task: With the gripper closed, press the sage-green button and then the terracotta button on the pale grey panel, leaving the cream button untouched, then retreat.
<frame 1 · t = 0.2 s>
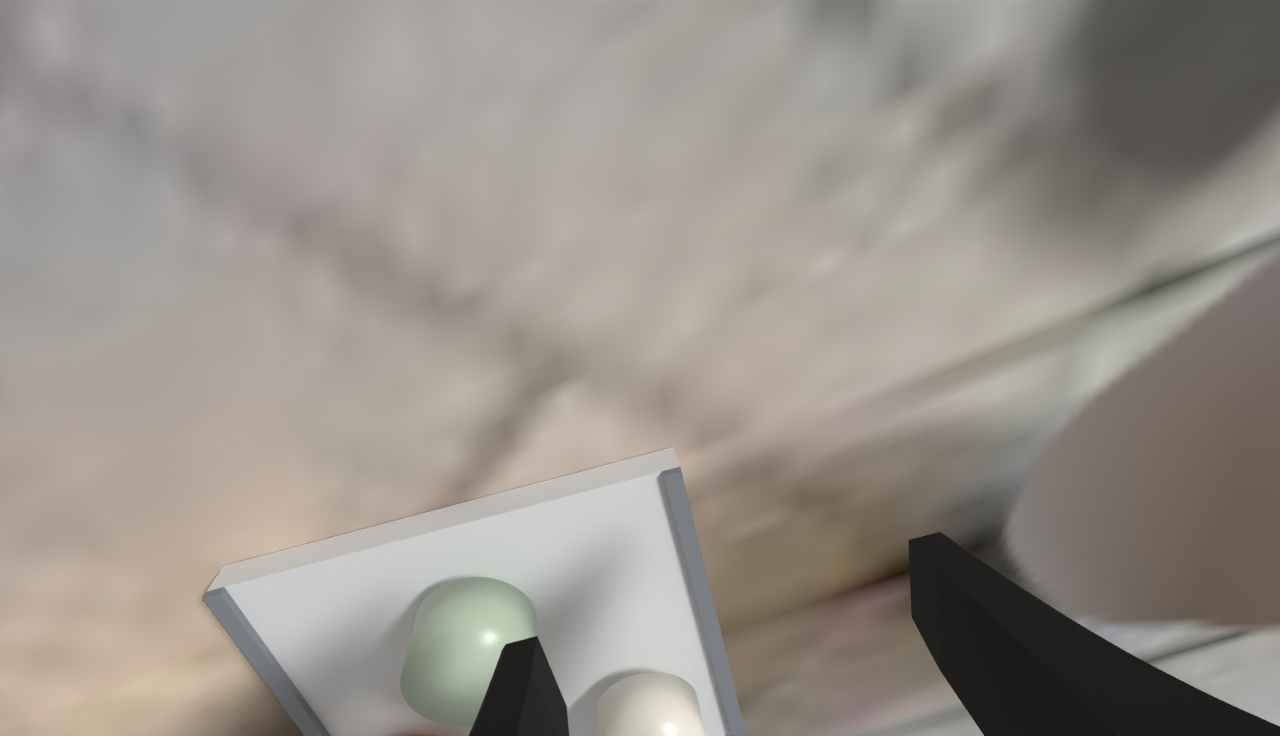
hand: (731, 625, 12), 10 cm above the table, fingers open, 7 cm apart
panel: (512, 643, 25), on the table
sage button: (472, 651, 20), point 3 cm above the table, slide at 0.0 cm
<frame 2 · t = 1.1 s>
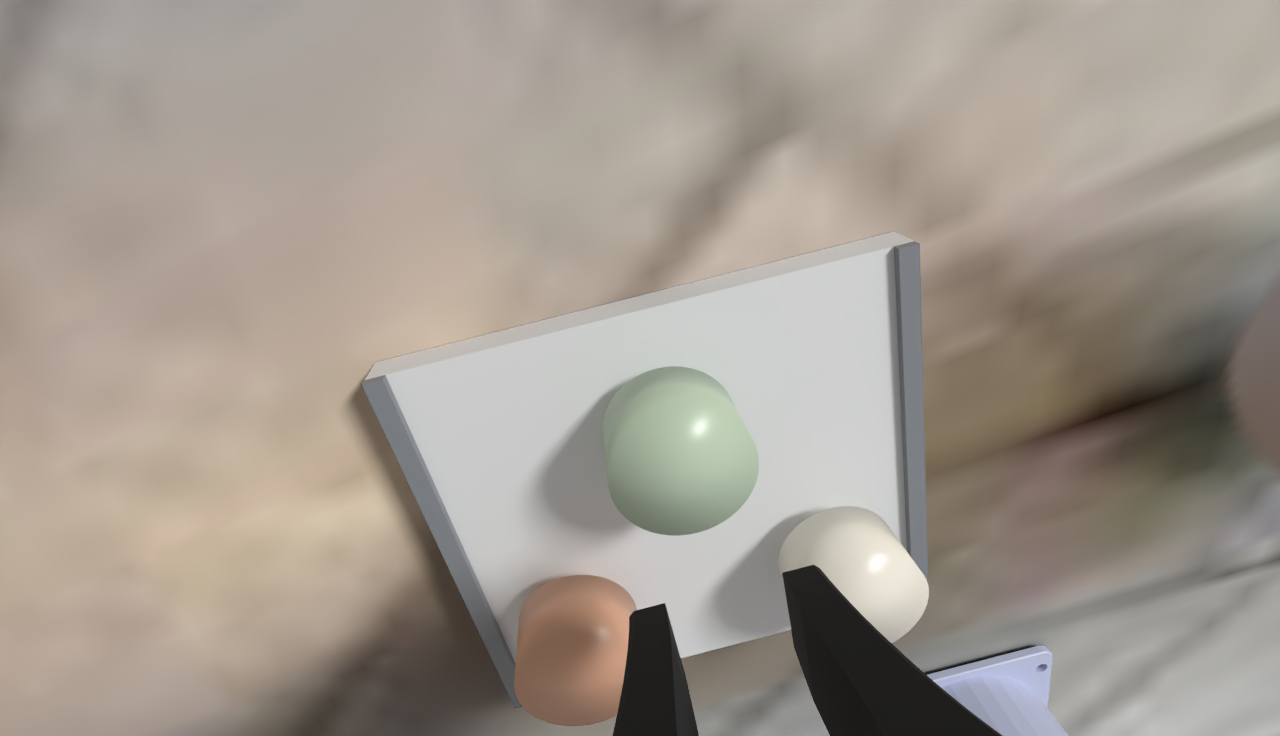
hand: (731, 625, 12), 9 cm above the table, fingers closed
cream button: (849, 579, 20), point 3 cm above the table, slide at 0.0 cm
panel: (680, 482, 22), on the table
sage button: (676, 449, 18), point 3 cm above the table, slide at 0.0 cm
terracotta button: (579, 649, 20), point 3 cm above the table, slide at 0.0 cm
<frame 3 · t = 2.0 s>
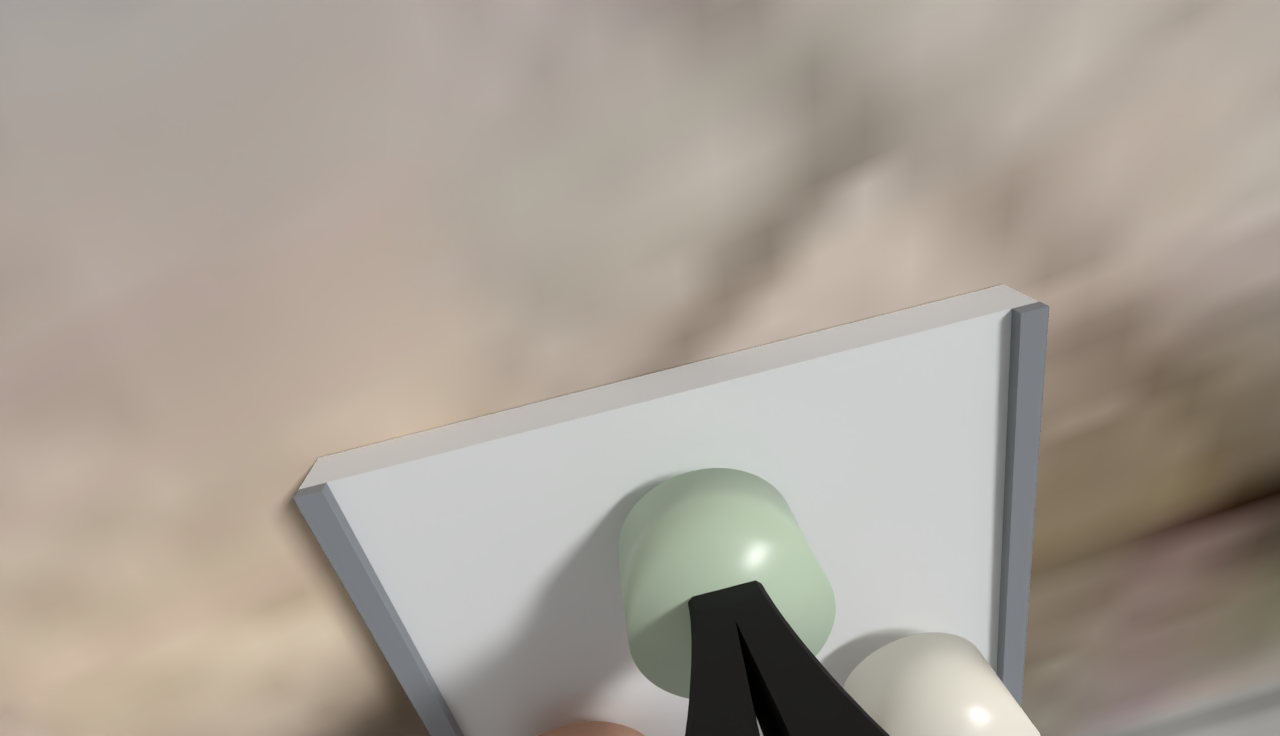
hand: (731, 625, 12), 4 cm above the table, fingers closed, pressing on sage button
cream button: (936, 729, 16), point 3 cm above the table, slide at 0.0 cm
panel: (714, 593, 17), on the table
sage button: (718, 582, 13), point 3 cm above the table, slide at -0.1 cm, touching gripper
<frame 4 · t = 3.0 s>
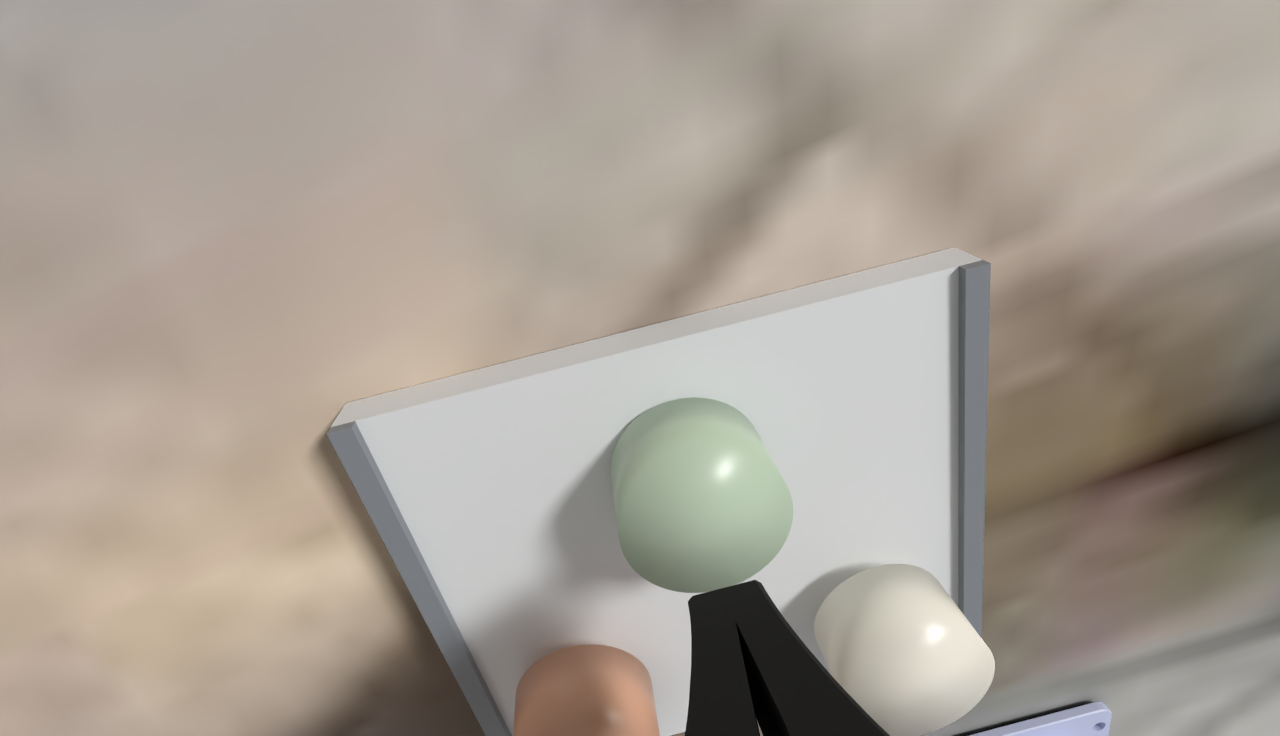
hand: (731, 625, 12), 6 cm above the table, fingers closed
cream button: (899, 649, 18), point 3 cm above the table, slide at 0.0 cm
panel: (700, 533, 19), on the table
sage button: (696, 493, 15), point 3 cm above the table, slide at -0.6 cm
terracotta button: (586, 731, 18), point 3 cm above the table, slide at 0.0 cm
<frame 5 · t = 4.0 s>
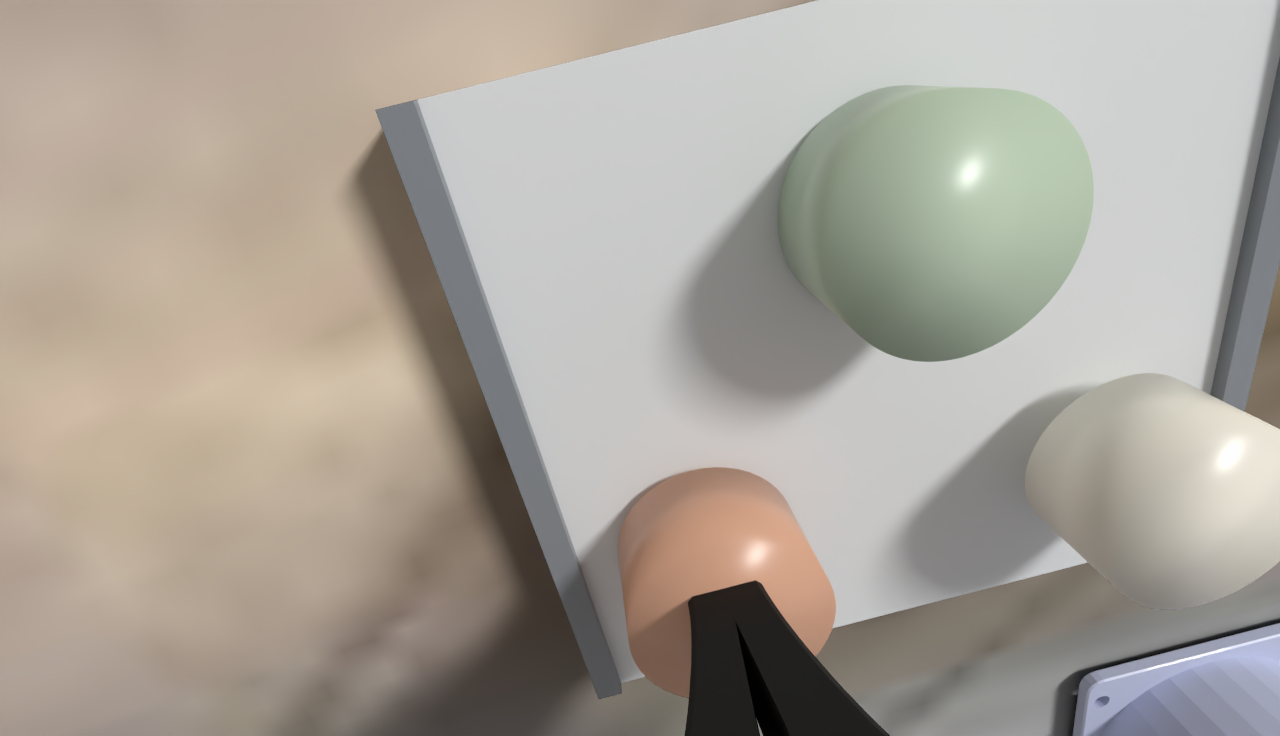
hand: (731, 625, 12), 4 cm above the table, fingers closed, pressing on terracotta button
cream button: (1160, 489, 13), point 3 cm above the table, slide at 0.0 cm
panel: (864, 348, 14), on the table
sage button: (919, 220, 10), point 3 cm above the table, slide at -0.6 cm
terracotta button: (719, 581, 13), point 3 cm above the table, slide at -0.5 cm, touching gripper
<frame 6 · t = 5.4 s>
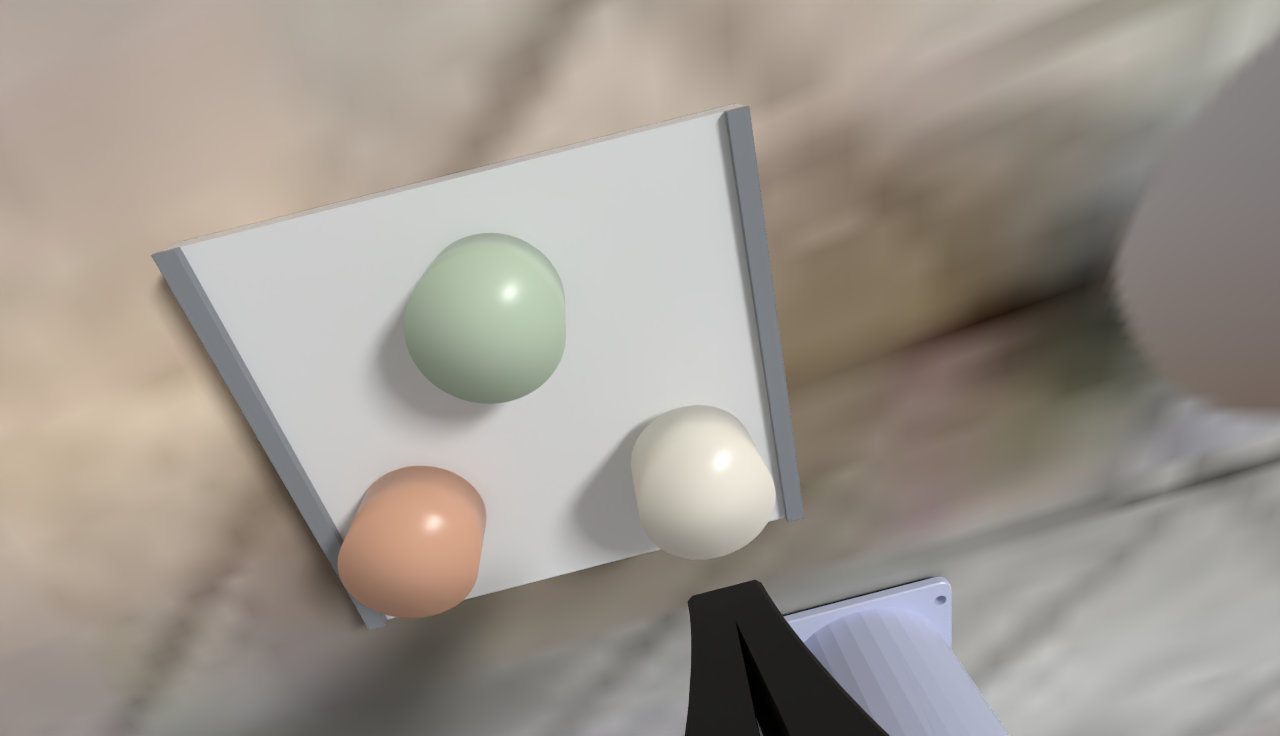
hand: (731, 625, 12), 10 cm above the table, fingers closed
cream button: (699, 481, 19), point 3 cm above the table, slide at 0.0 cm
panel: (532, 386, 21), on the table
sage button: (490, 317, 17), point 3 cm above the table, slide at -0.6 cm
terracotta button: (417, 540, 20), point 3 cm above the table, slide at -0.6 cm
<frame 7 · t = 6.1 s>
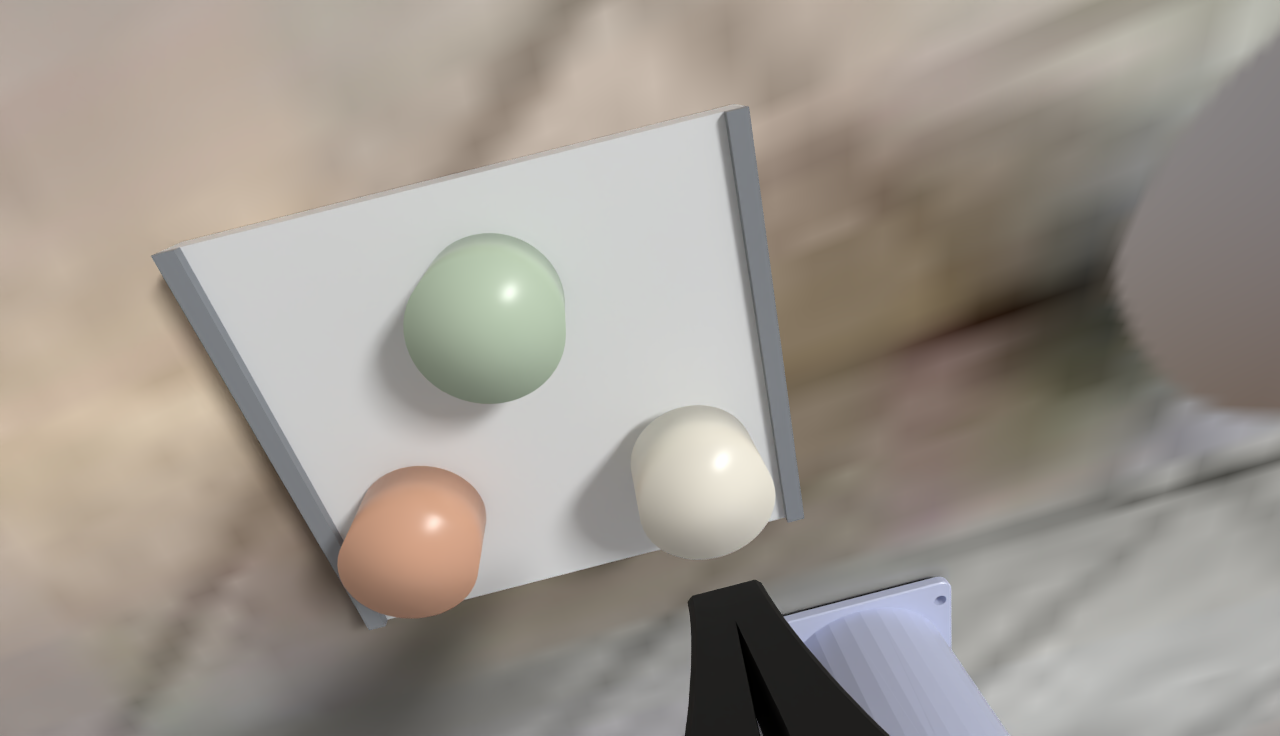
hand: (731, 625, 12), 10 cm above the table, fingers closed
cream button: (699, 481, 19), point 3 cm above the table, slide at 0.0 cm
panel: (531, 386, 21), on the table
sage button: (490, 317, 17), point 3 cm above the table, slide at -0.6 cm
terracotta button: (417, 541, 20), point 3 cm above the table, slide at -0.6 cm
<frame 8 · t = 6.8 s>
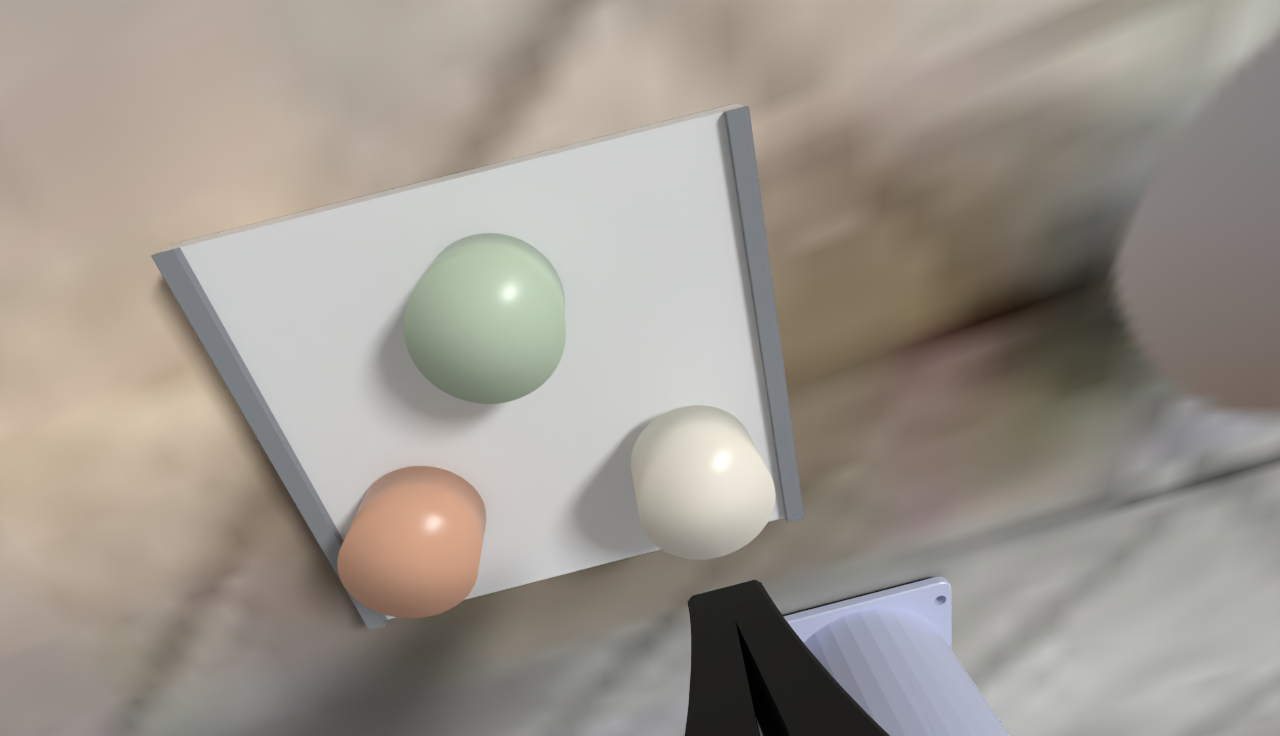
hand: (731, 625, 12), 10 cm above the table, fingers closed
cream button: (699, 481, 19), point 3 cm above the table, slide at 0.0 cm
panel: (531, 386, 21), on the table
sage button: (490, 317, 17), point 3 cm above the table, slide at -0.6 cm
terracotta button: (417, 541, 20), point 3 cm above the table, slide at -0.6 cm
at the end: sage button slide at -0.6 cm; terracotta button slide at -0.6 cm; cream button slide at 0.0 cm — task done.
